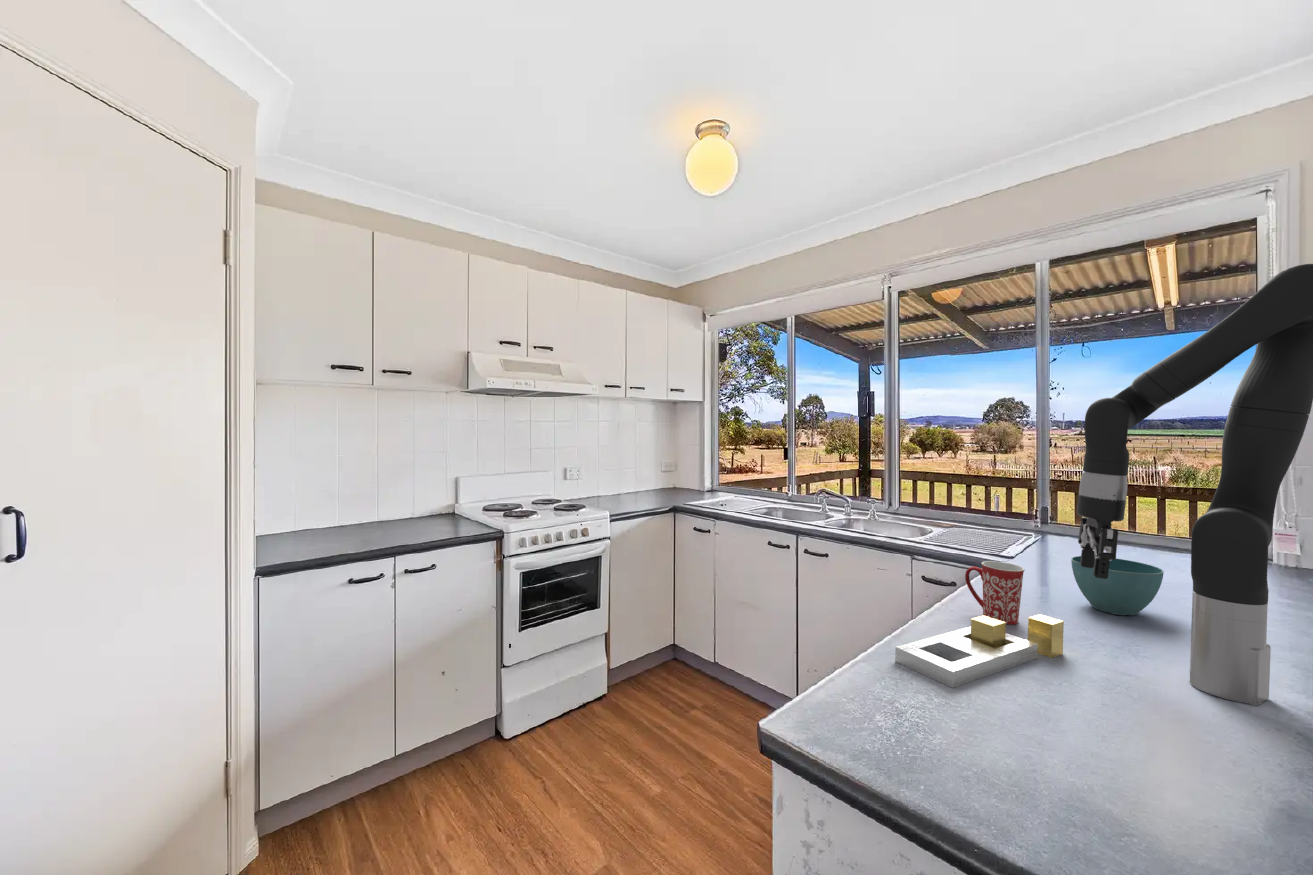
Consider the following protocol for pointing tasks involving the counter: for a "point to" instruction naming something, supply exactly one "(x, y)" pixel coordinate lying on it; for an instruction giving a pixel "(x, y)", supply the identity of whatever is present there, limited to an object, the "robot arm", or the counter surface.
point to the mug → (999, 590)
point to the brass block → (1046, 635)
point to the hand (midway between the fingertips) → (1093, 572)
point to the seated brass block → (988, 631)
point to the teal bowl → (1119, 585)
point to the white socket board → (963, 656)
